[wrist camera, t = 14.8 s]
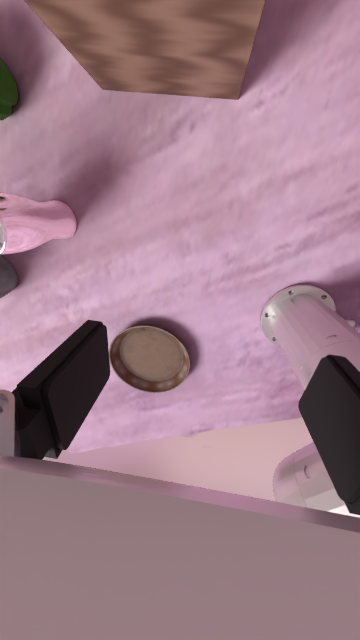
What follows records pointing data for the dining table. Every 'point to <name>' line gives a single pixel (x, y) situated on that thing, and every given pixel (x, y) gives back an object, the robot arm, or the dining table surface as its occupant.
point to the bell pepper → (7, 91)
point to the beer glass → (32, 223)
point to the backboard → (158, 42)
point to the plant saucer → (149, 359)
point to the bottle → (7, 277)
